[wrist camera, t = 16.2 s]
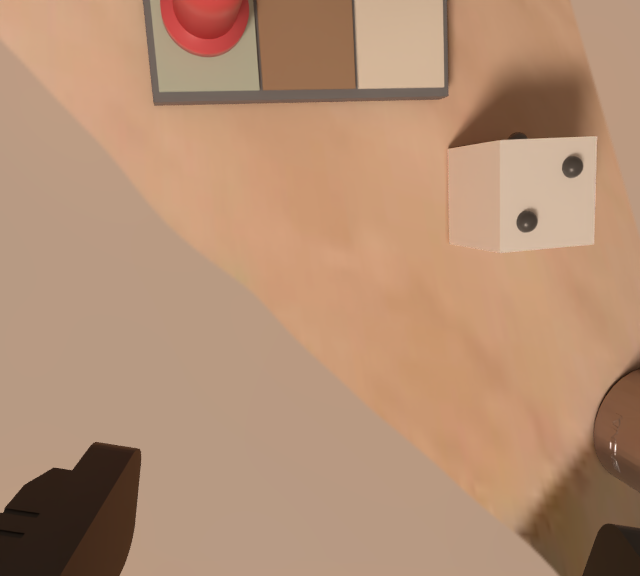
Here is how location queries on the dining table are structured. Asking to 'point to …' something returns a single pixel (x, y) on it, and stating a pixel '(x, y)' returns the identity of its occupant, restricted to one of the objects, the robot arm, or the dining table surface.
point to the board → (310, 55)
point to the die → (523, 193)
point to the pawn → (205, 24)
